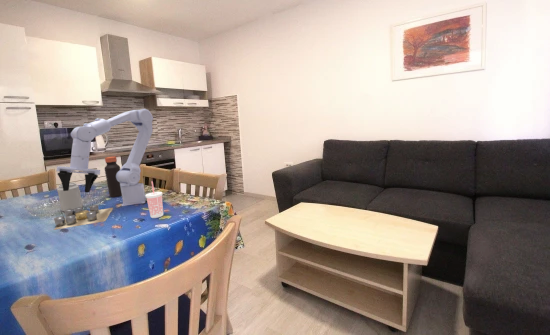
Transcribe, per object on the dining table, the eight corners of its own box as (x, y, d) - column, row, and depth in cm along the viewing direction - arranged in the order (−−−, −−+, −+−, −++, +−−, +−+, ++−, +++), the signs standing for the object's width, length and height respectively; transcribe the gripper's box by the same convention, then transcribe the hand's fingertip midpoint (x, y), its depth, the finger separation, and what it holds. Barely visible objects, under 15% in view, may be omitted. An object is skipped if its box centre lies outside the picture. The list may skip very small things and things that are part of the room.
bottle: (106, 197, 135) (99, 158, 131) (116, 193, 141) (109, 156, 138) (118, 197, 134) (111, 158, 130) (127, 193, 140) (121, 156, 136)
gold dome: (91, 215, 108) (90, 209, 107) (88, 218, 104) (87, 212, 103) (78, 217, 106) (77, 211, 106) (75, 221, 102) (73, 215, 102)
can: (71, 213, 113) (66, 186, 111) (57, 213, 115) (51, 186, 112) (87, 207, 120) (82, 181, 118) (73, 207, 122) (68, 181, 120)
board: (113, 208, 116) (113, 207, 116) (105, 222, 101) (105, 220, 100) (69, 215, 110) (69, 214, 110) (53, 231, 95) (53, 229, 95)
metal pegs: (102, 210, 113) (101, 203, 112) (95, 220, 101) (94, 213, 100) (66, 216, 108) (64, 209, 108) (53, 228, 96) (52, 220, 96)
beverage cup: (161, 211, 109) (156, 178, 106) (167, 215, 105) (163, 180, 102) (146, 216, 105) (140, 181, 102) (152, 219, 101) (146, 184, 98)
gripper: (52, 154, 99) (48, 190, 99) (95, 158, 101) (91, 193, 101) (64, 155, 106) (61, 189, 106) (104, 159, 108) (100, 192, 108)
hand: (76, 191), depth 104 cm, fingers open, 7 cm apart
